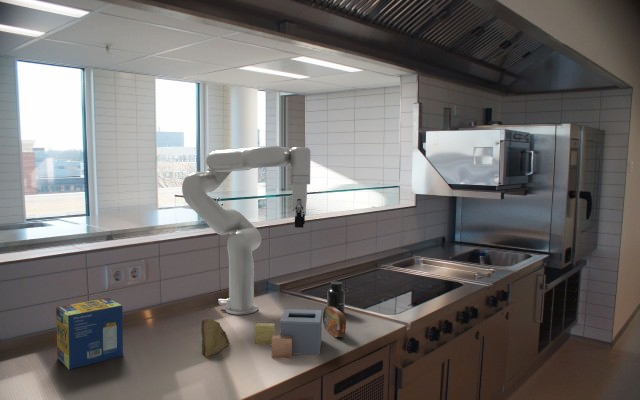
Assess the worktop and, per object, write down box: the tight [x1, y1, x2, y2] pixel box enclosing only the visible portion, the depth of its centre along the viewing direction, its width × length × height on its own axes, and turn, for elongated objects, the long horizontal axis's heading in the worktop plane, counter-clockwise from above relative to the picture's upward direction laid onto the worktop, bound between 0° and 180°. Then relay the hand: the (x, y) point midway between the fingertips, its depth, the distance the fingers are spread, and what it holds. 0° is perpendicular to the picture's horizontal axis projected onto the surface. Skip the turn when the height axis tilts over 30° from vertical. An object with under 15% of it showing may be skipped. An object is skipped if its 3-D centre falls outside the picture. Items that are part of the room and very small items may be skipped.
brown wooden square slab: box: [271, 334, 293, 359], centre depth 143 cm, size 2×6×6 cm, turn 87°
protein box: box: [55, 297, 124, 370], centre depth 140 cm, size 10×15×16 cm
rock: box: [200, 318, 230, 358], centre depth 147 cm, size 11×9×10 cm
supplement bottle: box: [326, 281, 346, 315], centre depth 185 cm, size 7×7×12 cm
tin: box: [322, 305, 347, 338], centre depth 163 cm, size 15×3×8 cm, turn 21°
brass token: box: [254, 322, 276, 345], centre depth 154 cm, size 2×6×6 cm, turn 87°
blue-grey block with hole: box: [279, 308, 323, 355], centre depth 151 cm, size 12×12×10 cm
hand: (299, 225), depth 180 cm, fingers open, 9 cm apart
